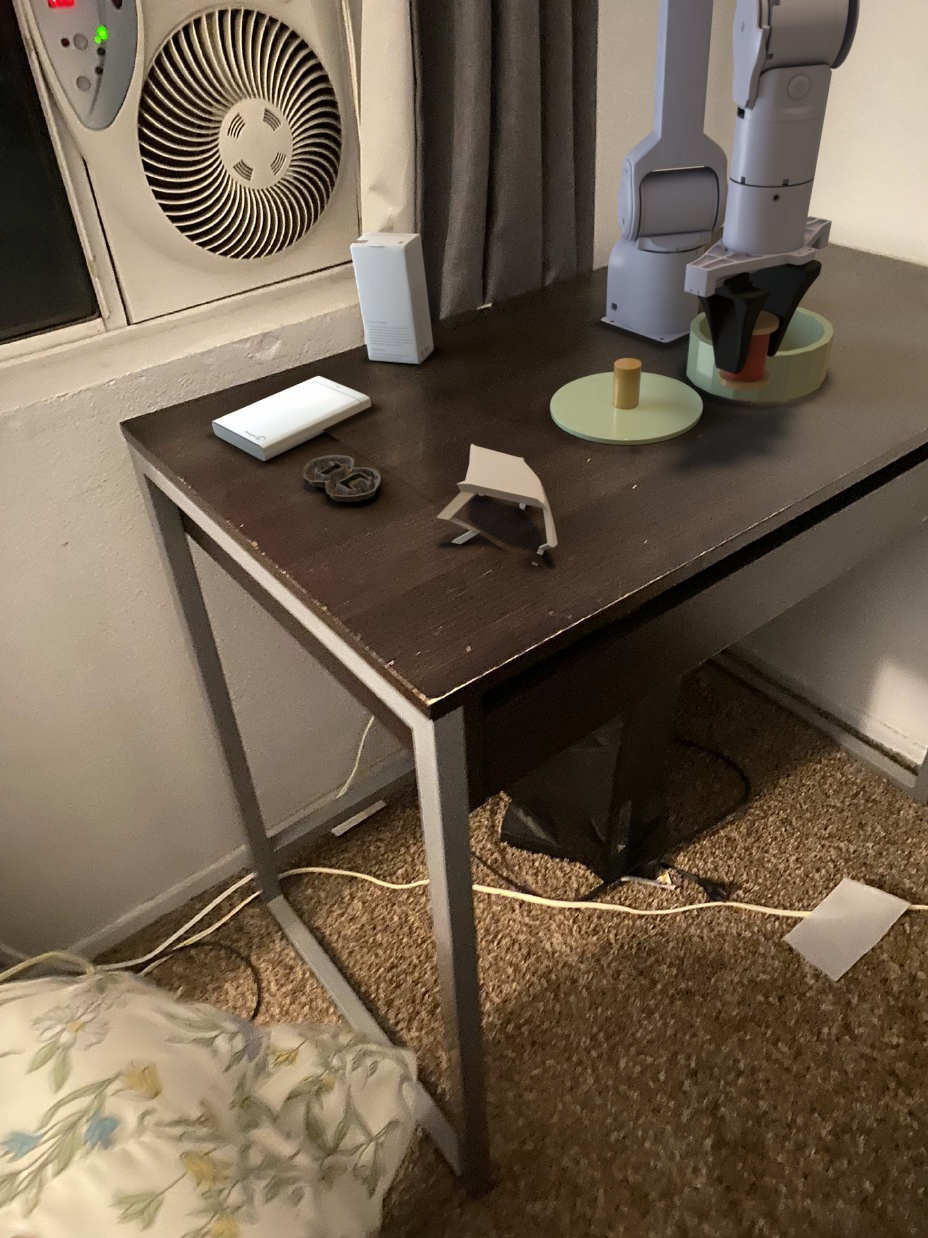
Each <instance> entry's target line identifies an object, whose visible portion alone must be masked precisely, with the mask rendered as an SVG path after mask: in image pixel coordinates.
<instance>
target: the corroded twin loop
mask: <svg viewBox="0 0 928 1238" xmlns="http://www.w3.org/2000/svg"><path fill="white" fill-rule="evenodd" d="M333 469H334V470H333ZM381 476H382V474H381V473H380V472H379V470H378V469H377V468H376V467H372V466H356V467H355V458H354V457H351V456H349V455H346V454H345V455H342V454H328V455H323V456H318V457H314V458H312V459H309V460H308V461H307V462H306V464H305V465H304V467H303V468H302V478H303V479H305V480H307V481H308V484H309V485H311V487H313V488H321V489H325V491H326V494H328V495H329V497H330V499H332V500H333V501H335V502H337V503H339V502H340V503H341V502H342V503H343V502H344V503H354V502H360V501H363V500H370V499H371V498H372V497H374V496H375V493H376V490H377V488H379V486H380V483H381ZM346 485H348V486H349V487H350V488H349V487H347V486H346Z"/></svg>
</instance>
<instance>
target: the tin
mask: <svg viewBox="0 0 928 1238" xmlns="http://www.w3.org/2000/svg"><path fill="white" fill-rule="evenodd" d="M834 337H835V330H834V327H833V324H832V322H831V321H829V320H828V319H827V318H825V317H824V316H823V315H821V314H819V313H817V312H814V311H811V310H809V309H806V308H804V307H801V306H798V307H797V309H796V311H795V312H794V315H793V317H792V319H791V321H790V323H789V326H788V328H787V330H786V333H785V335H784V337H783V340H782V342H781V344H780V347H779V349H778V351H777V353H776V355H774V356H772V357H769V356H767V358H766V364H765V369H766V370H767V371H768V372H769V373H770V380H769V383H768V385H766V386H765V387H763V388H760V389H757V390H735V389H731V388H728V387H725V386H724V385H722V384H721V383H720V382H719V380H718V374H719V371H720V370H721V369H718V368H716V365H715V358H714V351H713V345H712V338H711V333H710V328H709V324H708V321H707V318H706V315H705V312H704V311H703V312H699V313H698V315H697V317H696V318H695V319H694V320H693V321H692V322H691V325H690V333H689V338H688V347H687V355H686V357H687V358H686V377H687V378H688V379H689V380H690V381H691V383H692V384H693V385H694V386H695V387H697V388H700V389H701V390H702V391H704V392H707V393H708V394H711V395H715V396H718V397H722V398H726V399H729V400H732V401H733V400H734V401H744V402H753V403H765V402H767V403H768V402H784V401H789V400H792V399H797V398H801V397H805V396H807V395H809V394H810V393H813V392H814V391H816V390H818V389H819V388H820V387H821V386H822V384H823V383H824V381H825V380H826V377H827V371H828V366H829V363H830V361H829V360H830V356H831V352H832V347H833V342H834Z"/></svg>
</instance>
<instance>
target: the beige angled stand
mask: <svg viewBox="0 0 928 1238" xmlns="http://www.w3.org/2000/svg"><path fill="white" fill-rule="evenodd" d="M456 485H457V487H458V489H459V491H460V492H459V493H458V494H457V495H456V496H455V497H454V498H453V500H451V502H449V503H448V504H447V505H446V506H445V508H444V509H442V510H441V511H440V512H439V514H438V515H436V517H435V518H436V519H439V520H441V521H444V522H446V523H450V524H451V525H454V526H456V527H459V528H462V529H464V530H467V532H466V533H464V534H462V535H460V536H458V537H456V538H455V539H453V540H451V543H453V544H457V545H461V544H464V543H465V542H467V541H468V540H471V539H472V538H473V537H476V536H477V535H478V534H479V533H480V532H481V530H479V529H478V528H476V527H474V526H472V525H470V524H468V523H467V522H465V521H463V520H461V519H459V518H457V517H455V516H456V515H458V513H459V512H461V510H462V509H463V508H464V507H466V505H467V504H468V503H469V502H470V501H471V500H473V499H474V498H475V496H477V495H478V496H479V497H484V496H488V497H491V498H496V499H500V500H503V501H509V502H513V503H514V502H515V503H516V504H517V503H518V504H519V509H520V510H522V511H526V510H525V509H526V506H532V507H536V508H540V509H542V510H543V519H544V526H545V535H546V543H545V544H542V545H540V546H539V547H538V550H537V552H536V554H538V555H541V556H543V554H544V553H545V551H546V550H547V551H548V550H550V549H553V548H555V547H557V545H558V538H557V533H556V526H555V522H554V519H553V515H552V510H551V508H550V507H551V506H550V504H549V501H548V497H547V495H546V492H545V488H544V486H543V484H542V482H541V480H540V478H539V477H538V476H537V474H536V473H535V472H534V471H533V469H532V468H531V467H529V465H528V464H527V463H526V462H525V458H524V457H521V456H520V457H519V456H515V455H511V454H507V453H504V452H500V451H496V450H493V449H490V448H485V447H481V446H477V445H475V444H474V443H471V444H470V449H469V463H468V468H467V471H466V476H465V479H464V480H463V481H460V482H457V483H456ZM531 564H532V565H534V566H536V567H537V566H539V563H538V562H536V561H534V560H532V562H531Z"/></svg>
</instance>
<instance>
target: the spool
mask: <svg viewBox="0 0 928 1238" xmlns="http://www.w3.org/2000/svg"><path fill="white" fill-rule="evenodd" d="M778 325H779V319H778V317H777V316H776V315H774V314H772V313H769V312H766V311H761V312H760V314H759V316H758V319H757V321H756V324H755V327H754V330H753V333H752V336H751V341H750V345H749V350H748V354H747V358H746V362H745V364H744V367H743V369H742V371H741V372H740V373H738V374H732V373H730V372H727V371H724V370H720V371H719V374H718V380H719V382H720V383H721V384H722V385H724V386H725V387H728V388H731V389H735V390H757V389H760V388H763V387H765V386H766V385H768V383H769V380H770V373H769V372H768V371H767V370H766V369H765V364H766V358H767V351H768V345H769V339H770V333H771V332H774V331H775V330H776V329H777V328H778Z"/></svg>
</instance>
